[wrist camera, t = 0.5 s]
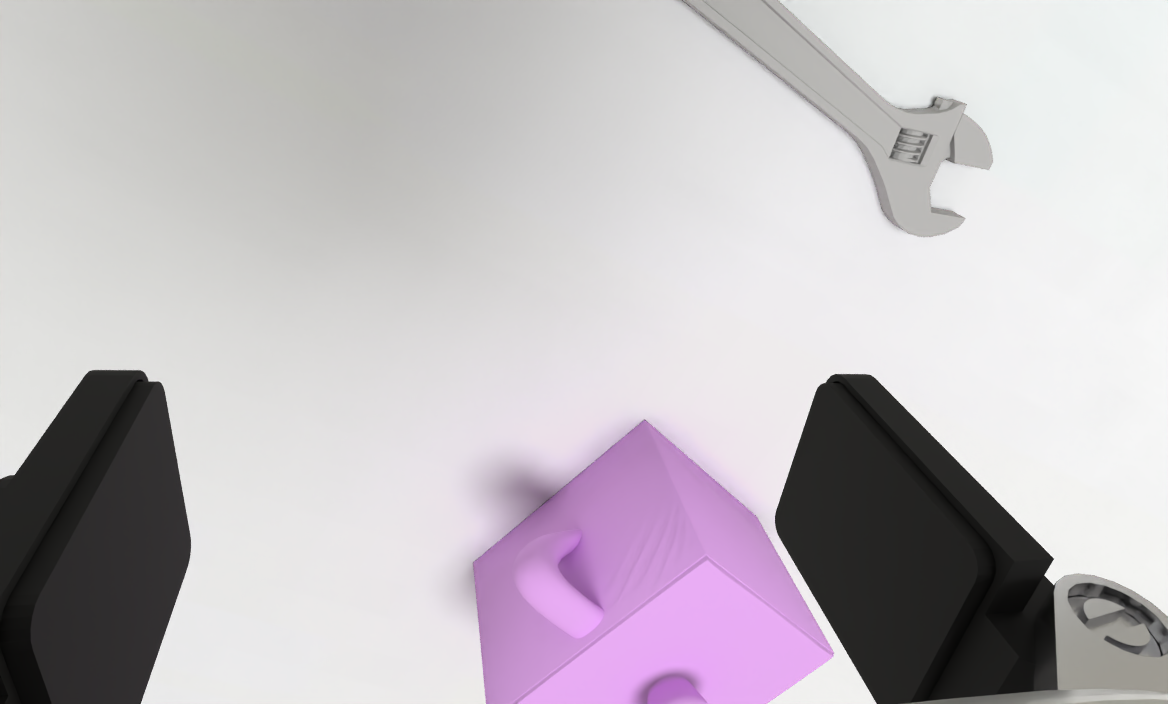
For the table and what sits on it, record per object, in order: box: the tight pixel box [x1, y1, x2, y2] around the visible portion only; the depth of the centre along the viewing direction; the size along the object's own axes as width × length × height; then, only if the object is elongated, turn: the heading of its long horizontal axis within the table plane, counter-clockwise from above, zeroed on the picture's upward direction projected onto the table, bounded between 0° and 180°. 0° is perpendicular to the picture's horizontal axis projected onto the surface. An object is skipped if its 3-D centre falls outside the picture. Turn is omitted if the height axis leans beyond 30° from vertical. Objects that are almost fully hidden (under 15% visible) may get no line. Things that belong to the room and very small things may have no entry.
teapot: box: [473, 420, 834, 704], centre depth 45 cm, size 15×25×14 cm, turn 42°
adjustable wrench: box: [683, 0, 993, 237], centre depth 36 cm, size 25×6×2 cm, turn 50°
